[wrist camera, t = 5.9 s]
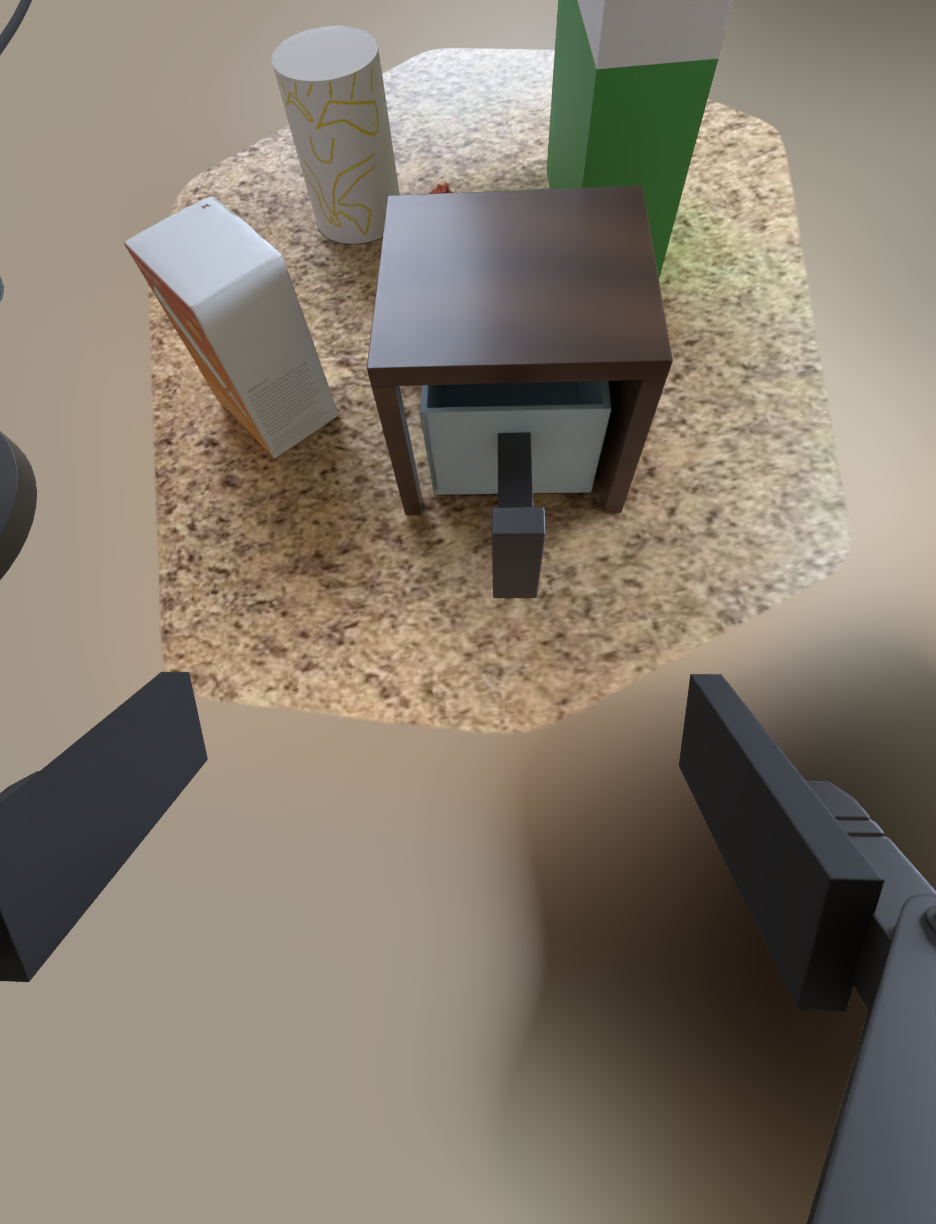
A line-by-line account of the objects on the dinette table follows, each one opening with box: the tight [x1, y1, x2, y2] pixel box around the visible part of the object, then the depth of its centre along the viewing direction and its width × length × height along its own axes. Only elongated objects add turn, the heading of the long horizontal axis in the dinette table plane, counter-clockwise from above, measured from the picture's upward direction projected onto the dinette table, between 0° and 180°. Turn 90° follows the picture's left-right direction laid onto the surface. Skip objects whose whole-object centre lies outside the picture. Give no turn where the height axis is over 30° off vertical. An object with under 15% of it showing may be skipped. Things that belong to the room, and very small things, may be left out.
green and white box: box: [547, 0, 734, 279], centre depth 42 cm, size 18×7×24 cm, turn 3°
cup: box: [272, 26, 400, 244], centre depth 49 cm, size 8×8×12 cm
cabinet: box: [367, 185, 673, 515], centre depth 37 cm, size 14×15×13 cm
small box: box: [124, 196, 339, 458], centre depth 39 cm, size 8×6×13 cm
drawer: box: [420, 381, 611, 598], centre depth 36 cm, size 20×11×10 cm, turn 179°
